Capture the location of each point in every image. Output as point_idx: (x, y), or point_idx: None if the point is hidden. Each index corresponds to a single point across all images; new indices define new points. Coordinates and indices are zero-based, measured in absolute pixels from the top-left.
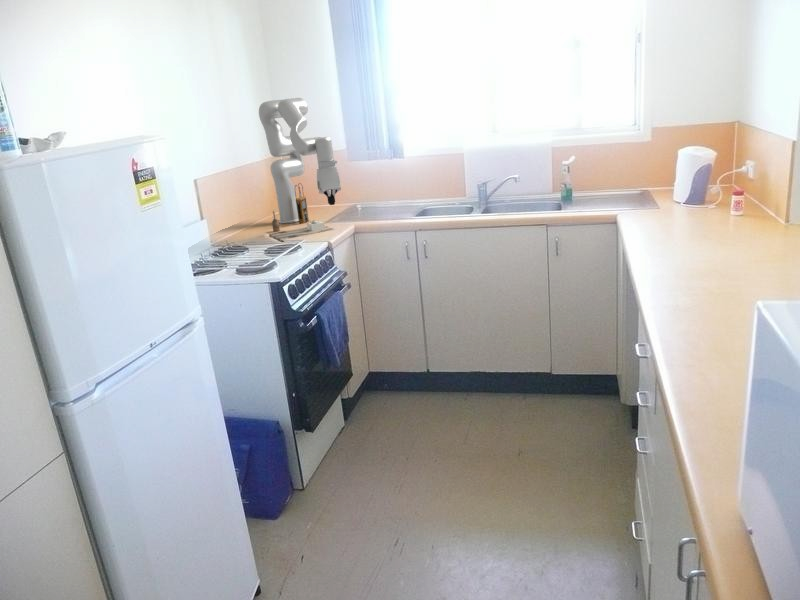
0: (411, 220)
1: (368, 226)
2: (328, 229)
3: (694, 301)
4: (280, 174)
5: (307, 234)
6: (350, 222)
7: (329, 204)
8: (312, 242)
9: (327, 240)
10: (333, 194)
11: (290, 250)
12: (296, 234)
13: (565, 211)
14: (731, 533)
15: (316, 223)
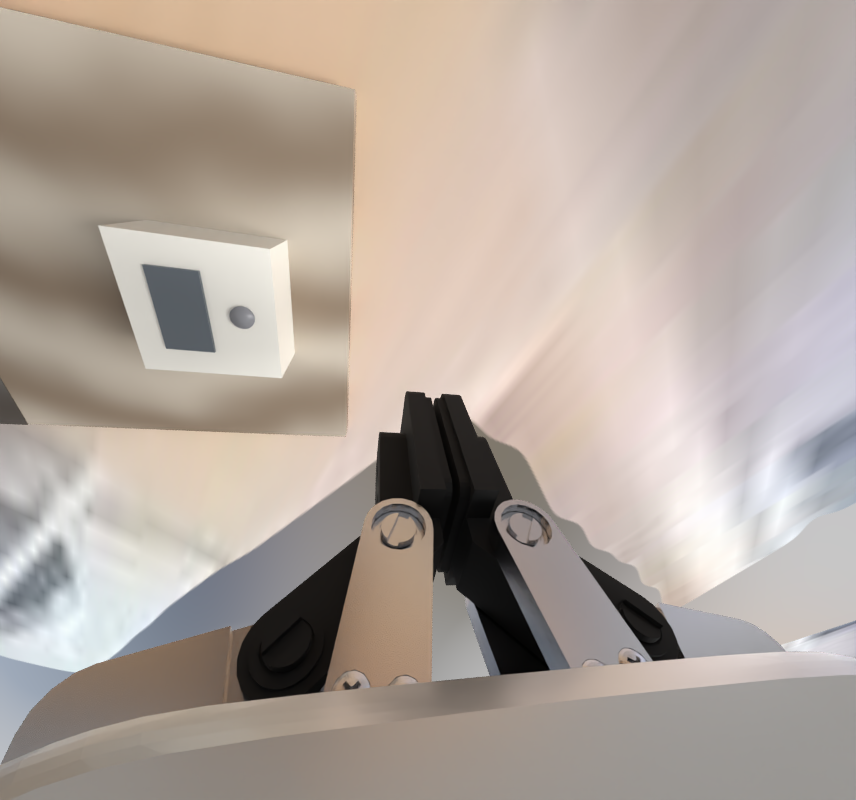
0: (702, 495)
1: (540, 451)
2: (308, 402)
3: None
4: None
5: (118, 422)
6: (618, 212)
7: (404, 401)
8: (144, 537)
9: (230, 549)
10: (481, 608)
11: (5, 589)
12: (7, 345)
13: (798, 647)
14: None
15: (206, 362)
